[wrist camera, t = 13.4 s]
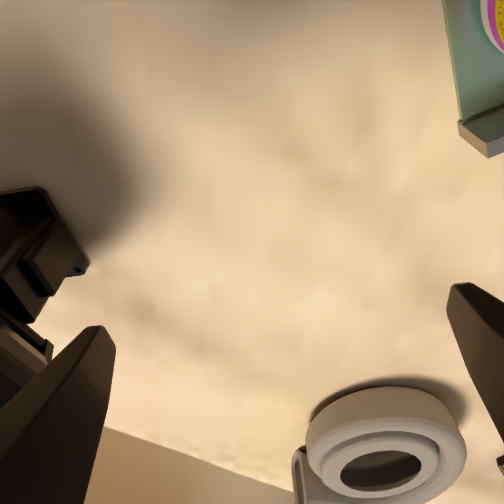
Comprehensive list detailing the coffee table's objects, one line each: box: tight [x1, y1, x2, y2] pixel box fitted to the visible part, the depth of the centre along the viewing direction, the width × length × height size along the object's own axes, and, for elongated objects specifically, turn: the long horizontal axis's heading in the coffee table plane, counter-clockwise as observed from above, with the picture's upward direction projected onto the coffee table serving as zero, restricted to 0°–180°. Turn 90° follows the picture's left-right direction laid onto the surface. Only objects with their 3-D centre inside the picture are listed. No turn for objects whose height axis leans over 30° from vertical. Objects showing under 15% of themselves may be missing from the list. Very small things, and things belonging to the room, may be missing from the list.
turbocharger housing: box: [291, 386, 467, 504], centre depth 37 cm, size 17×6×15 cm
